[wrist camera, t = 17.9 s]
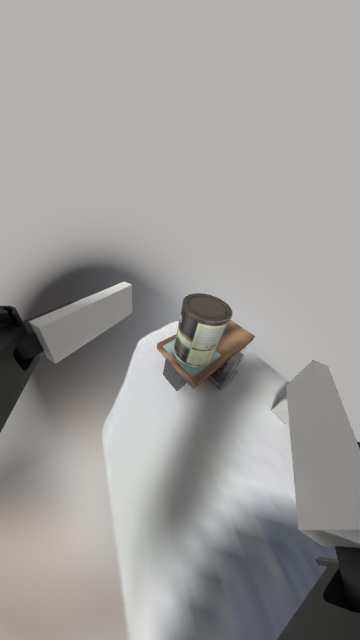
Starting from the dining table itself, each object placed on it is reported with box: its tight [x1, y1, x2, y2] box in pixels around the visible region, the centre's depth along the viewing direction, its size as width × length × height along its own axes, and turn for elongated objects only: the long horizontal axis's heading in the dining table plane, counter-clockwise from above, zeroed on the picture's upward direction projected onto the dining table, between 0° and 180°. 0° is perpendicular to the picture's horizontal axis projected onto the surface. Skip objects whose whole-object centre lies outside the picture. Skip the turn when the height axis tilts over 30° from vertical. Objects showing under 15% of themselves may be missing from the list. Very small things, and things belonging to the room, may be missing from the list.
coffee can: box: [173, 294, 232, 368], centre depth 37 cm, size 10×10×14 cm
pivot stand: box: [163, 352, 244, 391], centre depth 48 cm, size 20×28×10 cm
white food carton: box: [271, 394, 289, 424], centre depth 39 cm, size 4×7×10 cm, turn 125°
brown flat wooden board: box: [157, 320, 255, 389], centre depth 47 cm, size 15×28×2 cm, turn 131°
